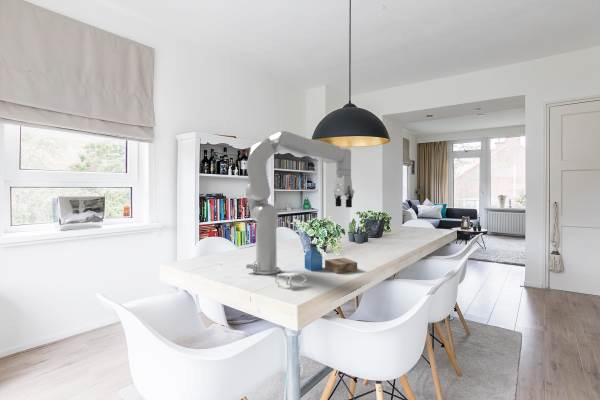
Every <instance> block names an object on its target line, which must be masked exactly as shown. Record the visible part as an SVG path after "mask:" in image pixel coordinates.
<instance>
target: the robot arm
mask: <svg viewBox="0 0 600 400" xmlns="http://www.w3.org/2000/svg"><path fill="white" fill-rule="evenodd" d="M282 150H284V151H287V152H290V153H294V154H297V155H300V156H302V157H319V158H320V160H321V161H322V162H323V163H325V164H334V163H335V164H336V165H335V167H336V168H335V170H336V171H335V172H336V173H335V175H336V176H335V180H334V190H333V193H334V197H335V198H334V199H335V207H342V197H343V196H345V198H346V199H345V208H352V207H353V201H352V200H353V197H354V194H355V190H354V189H353V182H352V151H351V149H349V148H342V147H340V146H338V145H336V144H333V143H330V142H325V141H323V140H316V139H311V138H307V137H304V136H302V135H298V134H295V133H293V132H291V131H285V130H281V131H278V132H276V133H274V134H272V135H270V136H269V137H266V138H265V139H263V140H260V141H257V143H255V144H253V145H252V146H251V147H250V149H249V155H248V158H247V161H246V173H247V178H248V184H247V186H246V188H245V196H246V200H247V205H248V209H249V212H250V216H251V218H252V219H253V221H255V222H256V226H255V261H253V262H252V263H247V264H245V269H246V270H252V273H254V274H256V275H274V274H279V273H280V272H281V267H279V266H277V263H278V260H277V251H278V249H277V248H278V247H277V225H278V217H279V215H278V210H277V209H276V207H275V206H274V205H272V204H271V203H268V199H269V198H270V196H271V187H270V183H269V179H268V175H267V162H268V160H269V159H270V158H271V157H272V156H273V155H275V154H277V153H278V152H280V151H282Z"/></svg>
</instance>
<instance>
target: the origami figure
mask: <svg viewBox="0 0 600 400" xmlns="http://www.w3.org/2000/svg"><path fill="white" fill-rule="evenodd" d="M299 276H301V277H302V278H303V279H304V280H303V281H302V282H301V283H300V284H301V286H302V287H303V286H304V284H303V283H305V282H307V280H308V278H307V277H306V276H305V274H304V273H303V272H282V273H276V277H275V279H274V283H276V284H278V285H277V287H279V286H280V285H281V284H280V283H279V282H278V281H277V280H278V279H279V278H280V277H285V281H286V285H289V290H291V289H292V287H293V285H292V278H295V277H299ZM288 278H289V279H288Z"/></svg>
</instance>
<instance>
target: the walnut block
mask: <svg viewBox="0 0 600 400" xmlns="http://www.w3.org/2000/svg"><path fill="white" fill-rule="evenodd" d="M324 269H326V270H328V271H330V272H333V273H335V274H345V273H351V272H353V273H354V272H357V271H358V262H357V261H355V260H351V259H349V258H346V257H340V258H339V257H338V258H333V259H330V258H329V259H325V260H324Z"/></svg>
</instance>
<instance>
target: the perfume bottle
mask: <svg viewBox="0 0 600 400" xmlns="http://www.w3.org/2000/svg"><path fill="white" fill-rule="evenodd" d="M309 245H310V246H309V249H310V250H307V251H306V253H305V254H304V269H305V268H306V269H305V270H307V271H310V272H313V271H321V270H323V255H322V253H321V252H320V250H318V246H317V243H314V242H313V243H309Z"/></svg>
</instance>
